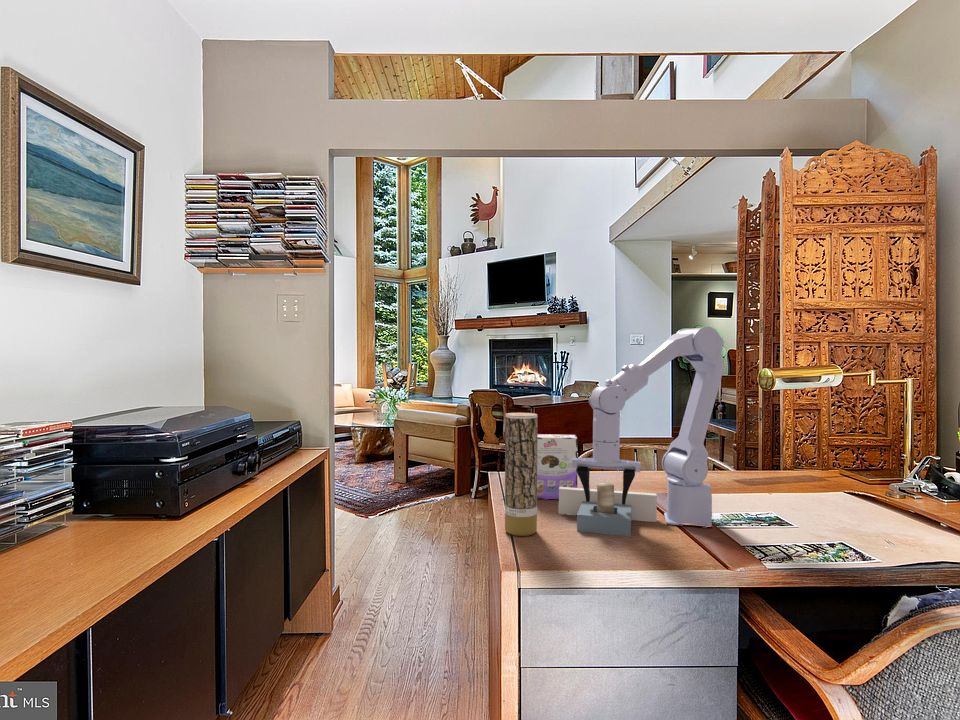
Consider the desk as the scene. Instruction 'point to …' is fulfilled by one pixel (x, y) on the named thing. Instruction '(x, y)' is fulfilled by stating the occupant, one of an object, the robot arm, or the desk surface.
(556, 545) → the desk surface
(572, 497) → the wall
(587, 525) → the socket block
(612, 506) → the dowel
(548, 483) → the candy box
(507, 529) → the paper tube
